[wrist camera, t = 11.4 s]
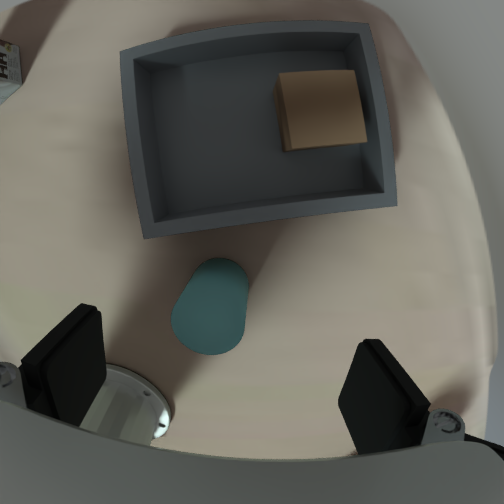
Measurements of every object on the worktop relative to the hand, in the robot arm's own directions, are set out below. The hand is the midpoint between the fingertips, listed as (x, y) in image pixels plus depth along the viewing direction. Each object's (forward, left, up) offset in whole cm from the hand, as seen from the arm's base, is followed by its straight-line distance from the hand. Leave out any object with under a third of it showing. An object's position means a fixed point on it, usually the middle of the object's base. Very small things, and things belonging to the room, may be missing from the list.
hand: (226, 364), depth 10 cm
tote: (+10, -3, -16) cm, 19 cm away
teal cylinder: (-3, +2, -16) cm, 17 cm away
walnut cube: (+10, -7, -15) cm, 19 cm away
